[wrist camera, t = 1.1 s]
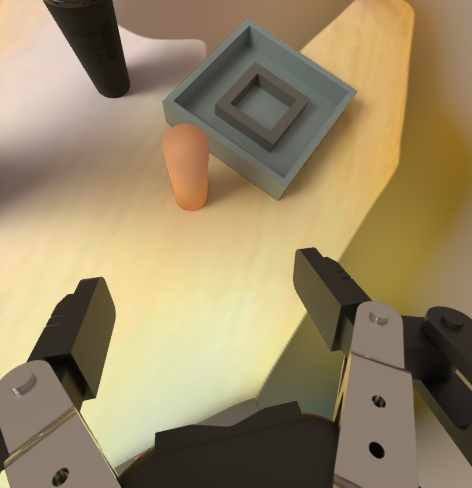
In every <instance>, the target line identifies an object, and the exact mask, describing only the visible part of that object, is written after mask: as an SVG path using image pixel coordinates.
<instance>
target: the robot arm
mask: <svg viewBox="0 0 472 488" xmlns="http://www.w3.org/2000/svg"><path fill="white" fill-rule="evenodd" d="M293 283H294V287H295V290H296V292H297V294H298V296H299V297H300V299H301V301H302V303H303V304H304V306H305V308H306V309H307V311H308V313H309V315H310V316H311V318H312V320H313V322H314V323H315V325H316V327H317V328H318V330H319V332H320V334H321V335H322V337H323V339H324V341H325V342H326V344H327V346H328V347H329V349H330V351H331V352H332V351H337V350H342V351H343V353H344V355H345V356H344V360H343V366H342V372H341V377H340V383H339V388H338V394H337V400H336V405H335V410H334V414H333V419H332V421H331V420H329V419H327V418H324V417H322V416H319V415H316V414H312V413H307V412H301V411H300V408H299V405H298V403H297V401H294V402H290V403H285V404H281V405H277V406H272V407H268V408H264V409H262V410H260V411H258V412H256V413H255V414H253V415H251V416H249V417H247V418H245V419H244V420H242V421H240V422H238V423H236V424H235V425H232V426H209V425H188V426H183V427H179V428H175V429H170V430H166V431H161V432H157V433H155V446H153V447H151V448H149V449H148V450H146V451H145V452H143V453H142V454H141V455H139V456H138V457H137V458H136V459H135V460H133V461H132V462H131V463H130V464H129V465H128V466H127V467H126V468H125V469H124V470H123V472H122V473H121V474H120V475H119V476H118V474H117V473H116V471H115V470H114V468H113V466H112V465H111V463H110V461H109V460H108V458H107V457H106V455H105V453H104V452H103V450H102V448H101V447H100V445H99V443H98V442H97V440H96V438H95V437H94V435H93V433H92V431H91V430H90V428H89V426H88V425H87V423H86V421H85V420H84V418H83V416H82V415H81V413H80V410H81V406H82V403H83V401H84V400H89V399H94V398H96V396H97V392H98V388H99V384H100V380H101V376H102V372H103V368H104V363H105V359H106V355H107V351H108V347H109V343H110V339H111V335H112V331H113V327H114V323H115V318H116V312H115V306H114V303H113V300H112V298H111V295H110V292H109V289H108V287H107V284H106V281H105V279H104V278H103V277H96V278H89V279H82V280H80V282H79V284H78V286H77V288H76V290H75V292H74V294H68V295H67V296H66V297H64V298H63V299H62V300H61V301H60V302H59V303H58V304H57V305H56V307H55V309H54V311H53V313H52V315H51V318H50V319H49V320H48V322H47V324H46V327H45V328H44V330H43V332H42V334H41V336H40V337H39V339H38V341H37V343H36V345H35V347H34V349H33V351H32V353H31V355H30V356H29V358H28V360H27V362H26V363H24V364H22V365H20V366H18V367H16V368H14V369H13V370H11V371H10V372H9V373H7V374H6V375H5V376H4V377H3V378H2V379H1V380H0V473H1V471H2V470H4V469H5V472H6V475H7V479H8V482H9V485H10V488H421V487H420V486H418V474H417V456H416V439H415V422H414V405H413V388H412V384H413V385H414V387H415V388H416V390H417V391H418V392H419V394H420V395H421V397H422V398H423V399H424V401H425V402H426V404H427V405H428V406H429V408H430V409H431V410H432V412H433V413H434V415H435V416H436V417H437V419H438V420H439V422H440V423H441V424H442V426H443V427H444V429H445V430H446V431H447V433H448V434H449V435H450V437H451V438H452V440H453V441H454V443H455V444H456V445H457V447H458V448H459V449H460V451H461V452H462V454H463V455H464V456H465V458H466V459H467V460H468V462H469V463H470V465H471V466H472V391H471V390H470V389H469V388H468V386H467V385H466V384H465V383H464V382H463V381H462V380H461V379H460V377H459V376H458V375H457V374H456V373H455V371H456V370H457V369H458V370H459V371H460V373H461V374H462V375H463V376H464V377H465V378H466V379H467V380H468V381H469V382H470V383H471V385H472V319H471V318H469V317H468V316H467V315H465V314H463V313H461V312H459V311H457V310H454V309H451V308H448V307H433V308H430V309H429V310H428V311H427V313H426V316H425V318H424V317H412V316H411V317H410V316H401V315H400V314H399V313H398V312H397V311H395V309H393V308H392V307H390V306H388V305H386V304H383V303H380V302H375V301H372V300H371V299H370V298H369V297H368V296H367V295H366V293H365V292H364V291H363V290H362V289H361V288H360V287H359V286H358V285H357V283H356V282H355V281H354V280H353V279H351V277H350V276H349V275H348V273H347V272H345V270H344V269H343V268H342V267H341V266H340V265H339V263H337V262H336V261H334V260H332V259H330V258H329V257H323V256H322V255H321V254H320V253H319V252H318V250H317V249H316V248H314V247H312V248H305V249H298V250H297V251H296V253H295V263H294V274H293Z"/></svg>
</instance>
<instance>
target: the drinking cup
mask: <svg viewBox="0 0 472 488" xmlns="http://www.w3.org/2000/svg"><path fill="white" fill-rule="evenodd" d="M43 2H44V3H45V5H46V7H47V8H48V10H49V11H50V13H51V15H52V16H53V18H54V20H55V21H56V23H57V25H58V26H59V28H60V29H61V31H62V33H63V34H64V36H65V38H66V39H67V41H68V43H69V44H70V46H71V47H72V49H73V51H74V52H75V54H76V56H77V57H78V59H79V61H80V62H81V64H82V66H83V67H84V69H85V70H86V72H87V74H88V75H89V77H90V79H91V80H92V82H93V84H94V85H95V87H96V88H97V90H98V92H99V93H100V94H102V95H103V96H105V97H109V98H117V97H120V96H123V95H124V94H125V93H126V92H127V91H128V90H129V87H130V82H129V77H128V72H127V68H126V63H125V58H124V53H123V49H122V44H121V39H120V35H119V30H118V25H117V21H116V16H115V11H114V6H113V1H112V0H43Z"/></svg>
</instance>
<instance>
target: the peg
mask: <svg viewBox="0 0 472 488" xmlns="http://www.w3.org/2000/svg"><path fill="white" fill-rule="evenodd" d="M162 149H163V153H164V156H165V160H166V164H167V168H168V172H169V176H170V180H171V184H172V188H173V191H174V195H175V199H176V202H177V204H178V205H179V206H180V207H181V208H183V209H184V210H187V211H195V210H198V209H200V208H202V207H203V206H204V205H205V203H206V201H207V192H208V150H209V143H208V139H207V136H206V135H205V133H204V132H203V131H202V130H201V129H200V128H198V127H196V126H194V125H191V124H178V125H175V126H173V127H171V128H170V129H168V130H167V131H166V133H165V134H164V136H163V138H162Z"/></svg>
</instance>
